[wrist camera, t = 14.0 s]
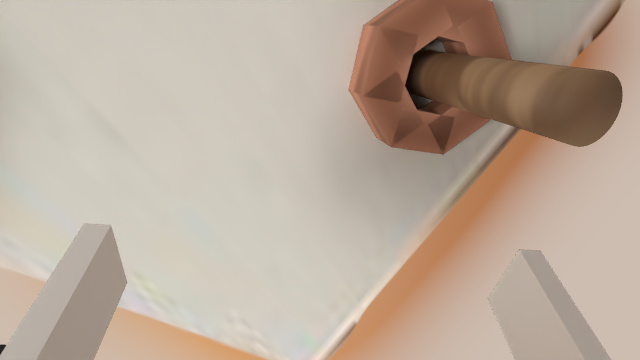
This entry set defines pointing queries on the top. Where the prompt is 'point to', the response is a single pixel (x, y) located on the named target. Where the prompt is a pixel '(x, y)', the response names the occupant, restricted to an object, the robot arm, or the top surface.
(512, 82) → the dowel
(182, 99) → the top surface
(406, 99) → the terracotta faceted ring
